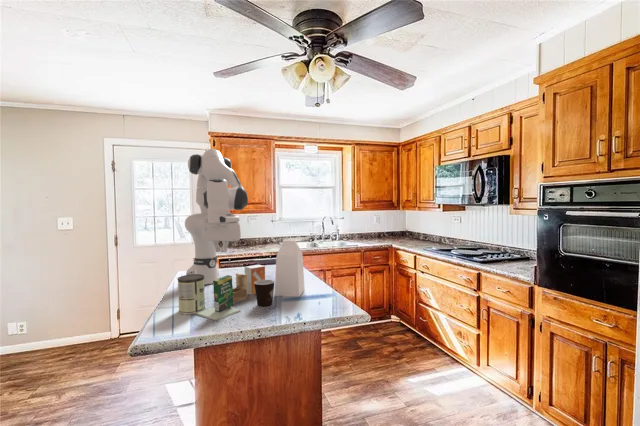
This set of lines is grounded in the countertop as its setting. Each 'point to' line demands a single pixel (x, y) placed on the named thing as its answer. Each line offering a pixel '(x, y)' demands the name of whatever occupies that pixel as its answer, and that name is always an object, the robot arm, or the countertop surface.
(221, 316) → the sage green square tile
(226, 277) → the coffee box
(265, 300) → the coffee mug
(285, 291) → the milk
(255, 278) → the small box
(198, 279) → the coffee can
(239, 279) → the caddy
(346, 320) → the countertop surface
